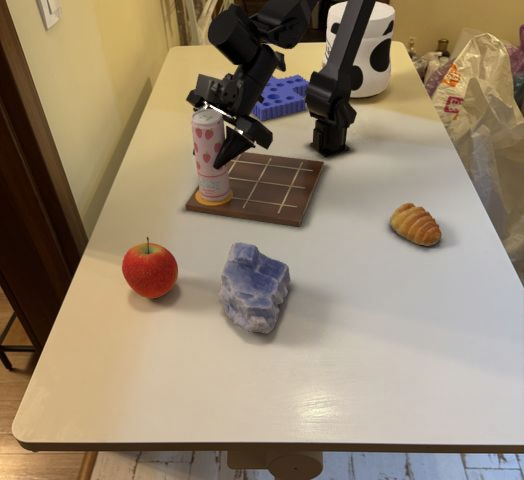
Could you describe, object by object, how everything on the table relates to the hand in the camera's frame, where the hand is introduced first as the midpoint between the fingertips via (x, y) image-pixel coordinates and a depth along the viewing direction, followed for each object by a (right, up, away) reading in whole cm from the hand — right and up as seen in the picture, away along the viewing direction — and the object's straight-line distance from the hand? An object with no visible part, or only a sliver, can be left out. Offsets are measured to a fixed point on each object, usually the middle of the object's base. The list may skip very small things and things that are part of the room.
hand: (204, 162), depth 93 cm
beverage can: (+1, -4, +6) cm, 7 cm away
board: (+10, -1, +10) cm, 14 cm away
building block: (+11, +29, +38) cm, 49 cm away
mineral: (+9, -27, -13) cm, 32 cm away
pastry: (+37, -13, -1) cm, 40 cm away
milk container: (+34, +32, +40) cm, 61 cm away
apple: (-7, -25, -10) cm, 27 cm away
